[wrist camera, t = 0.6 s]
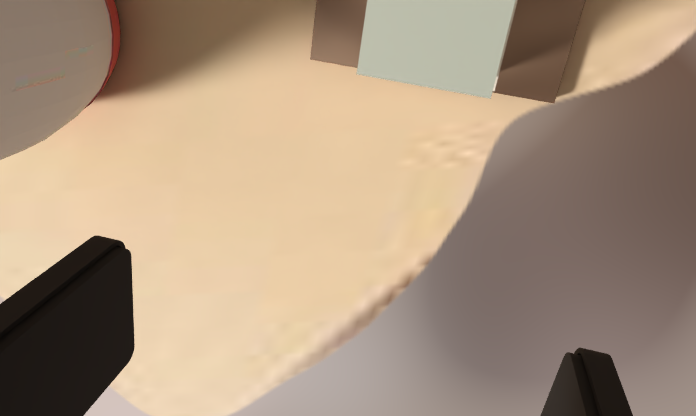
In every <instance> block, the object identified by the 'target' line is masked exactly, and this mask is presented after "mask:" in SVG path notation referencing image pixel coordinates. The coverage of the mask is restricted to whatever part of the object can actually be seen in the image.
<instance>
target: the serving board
mask: <svg viewBox="0 0 696 416" xmlns="http://www.w3.org/2000/svg"><path fill="white" fill-rule="evenodd" d="M584 3H585V0H518V1H517V5H516V9H515V13H514V17H513V21H512V25H511V29H510V32H509V36H508V40H507V44H506V48H505V52H504V56H503V60H502V64H501V68H500V72H499V76H498V80H497V84H496V88H495V91H492V92H494V93H499V94H505V95H510V96H516V97H521V98H527V99H533V100H538V101H544V102H549V103H554V102H555V99H556V95H557V92H558V89H559V85H560V82H561V79H562V76H563V72H564V69H565V66H566V62H567V59H568V56H569V52H570V49H571V46H572V43H573V39H574V36H575V33H576V29H577V26H578V23H579V19H580V16H581V13H582V10H583V6H584ZM366 6H367V0H317V3H316V12H315V21H314V30H313V39H312V48H311V58H310V59H311V60H317V61H322V62H328V63H333V64H339V65H344V66H350V67H355V68H358V61H359V54H360V47H361V40H362V34H363V27H364V20H365V13H366Z"/></svg>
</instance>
